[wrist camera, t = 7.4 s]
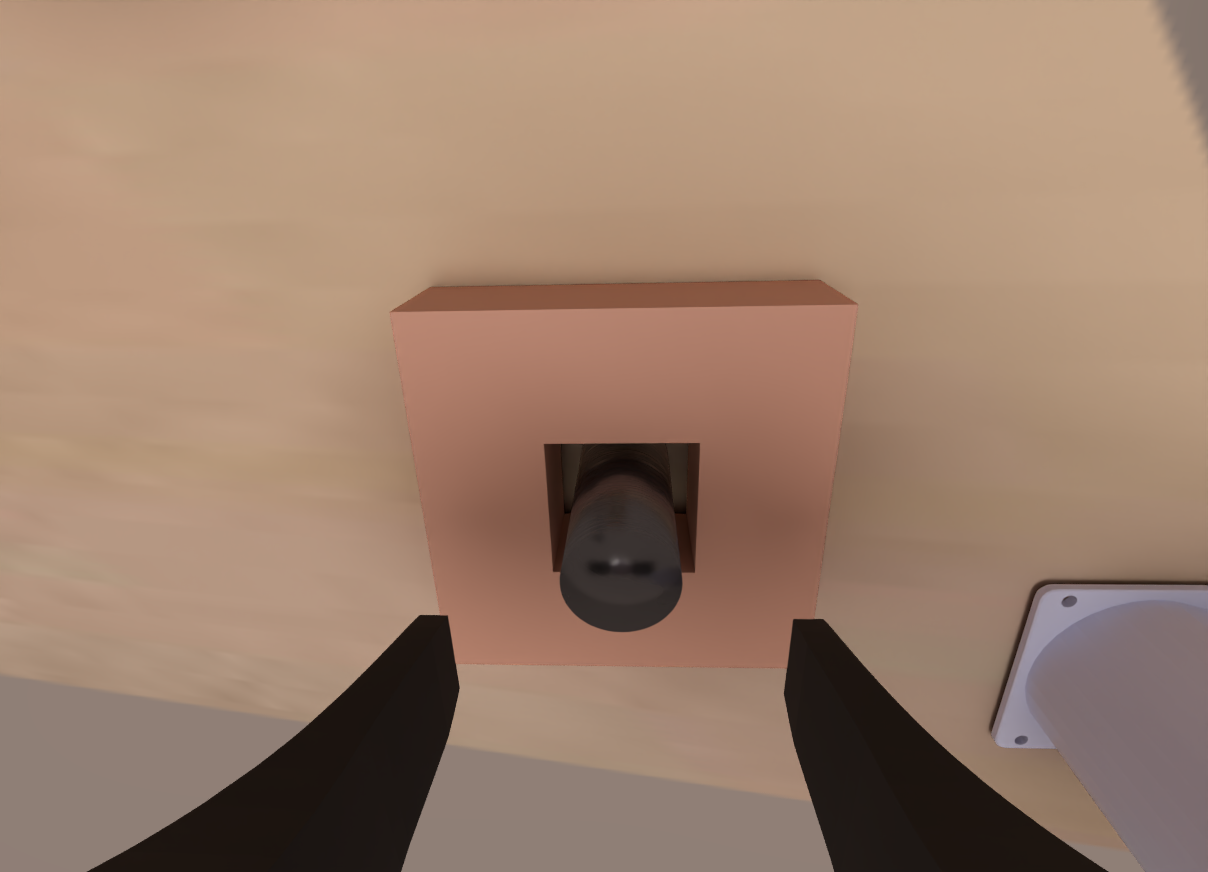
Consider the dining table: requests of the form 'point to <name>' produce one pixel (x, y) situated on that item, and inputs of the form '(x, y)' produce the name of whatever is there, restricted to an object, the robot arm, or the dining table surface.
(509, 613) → the socket block
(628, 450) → the peg
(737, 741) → the dining table surface
